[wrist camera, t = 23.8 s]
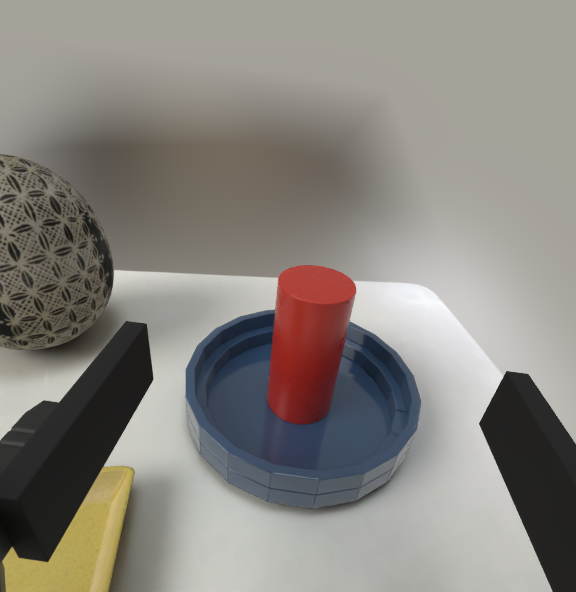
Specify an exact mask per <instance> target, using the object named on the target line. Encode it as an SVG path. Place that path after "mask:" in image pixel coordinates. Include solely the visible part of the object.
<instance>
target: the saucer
mask: <svg viewBox="0 0 576 592" xmlns="http://www.w3.org/2000/svg"><path fill="white" fill-rule="evenodd" d="M134 473H135V472H134V470H133V468H130V467H127V466H112V467H103V468H102V470H101V471H100V473H99V475H98V477H97V478H96V480H95V482H94V484H93V485H92V487H91V489H90V490H89V492H88V494H87V496H86V497H85V499H84V501H83V503H82V504H81V506H80V508H79V510H78V511H77V513H76V515H75V517H74V518H73V520H72V522H71V523H70V525H69V527H68V529H67V530H66V532H65V534H64V536H63V537H62V539H61V541H60V543H59V544H58V546H57V548H56V550H55V551H54V553H53V555H52V556H51V558H50V560H49V562H42V561H36V560H29V559H23V558H18V556H17V554H16V552H15V550H14V549H13V547H12V548H11V549H10V551H9V552H8V554H7V555H6V557H5V558H4V560H3V561H2V562H3V565H4V568H5V584H6V592H109V588H110V583H111V579H112V574H113V570H114V565H115V560H116V556H117V551H118V546H119V541H120V536H121V531H122V527H123V523H124V518H125V514H126V509H127V505H128V499H129V495H130V491H131V486H132V482H133V477H134Z"/></svg>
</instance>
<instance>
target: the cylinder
mask: <svg viewBox="0 0 576 592" xmlns="http://www.w3.org/2000/svg"><path fill="white" fill-rule="evenodd" d="M355 294H356V286H355V284H354V282H353V281H352V280H351V279H350V278H349V277H347V276H346V275H344V274H343V273H341V272H338V271H336V270H333V269H330V268H326V267H321V266H314V265H313V266H312V265H304V266H296V267H292V268H289V269H287V270H285V271H283V272H282V273H281V274H280V276H279V278H278V288H277V298H276V308H275V319H274V329H273V339H272V349H271V360H270V370H269V380H268V391H267V402H268V405H269V407H270V409H271V410H272V411H273V413H274V414H276V415H277V416H278V417H279V418H281V419H283V420H285V421H287V422H290V423H293V424H301V425H302V424H311V423H315V422H317V421H319V420H321V419H322V418H324V417H325V416H326V415H327V413H328V412H329V409H330V406H331V402H332V397H333V393H334V388H335V384H336V379H337V375H338V370H339V366H340V361H341V357H342V352H343V348H344V344H345V339H346V335H347V330H348V326H349V321H350V317H351V312H352V308H353V303H354V299H355Z"/></svg>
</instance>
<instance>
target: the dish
mask: <svg viewBox="0 0 576 592" xmlns="http://www.w3.org/2000/svg"><path fill="white" fill-rule="evenodd" d="M274 319H275V310H266V311H262V312H257V313H253V314H249V315H245V316H241V317H238V318H236V319H234V320H232V321H230V322H228V323H226V324H224V325H222V326H220V327H218V328H216V329H215V330H214V331H213V332H212V333H210V334H209V335H208V336H207V337H206V338H205V339H204V340H203V341H202V342H201V343H200V344H199V345H198V346H197V347H196V349H195V352H194V354H193V356H192V358H191V360H190V362H189V364H188V366H187V368H186V410H187V424H188V427H189V429H190V432H191V434H192V436H193V439H194V441H195V443H196V446H197V448H198V450H199V452H200V454H201V456H202V457H203V458H204V459H205V460H206V461H207V462H208V463H209V464H210V465H211V466H212V467H213V468H214V469H215V470H216V471H217V472H218V473H219V474H220V475H221V476H222V477H223V478H224V479H225V480H226V481H227V482H229V483H230V484H232V485H234V486H236V487H238V488H240V489H242V490H244V491H246V492H248V493H250V494H252V495H254V496H257V497H259V498H261V499H263V500H265V501H268V502H271V503H278V504H284V505H291V506H298V507H305V508H320V507H325V506H331V505H337V504H342V503H348V502H354V501H355V500H358V499H359V498H361V497H363V496H364V495H366V494H368V493H369V492H371V491H373V490H374V489H376V488H378V487H379V486H381V485H383V484H384V483H386V482H387V481H389V479H390V478H391V476H392V475H393V473H394V472H395V471H396V469H397V468H398V466H399V465H400V464H401V462H402V461H403V459H404V458H405V456H406V454H407V452H408V449H409V447H410V444H411V442H412V440H413V437H414V435H415V432H416V430H417V425H418V419H419V412H420V405H421V400H420V396H419V393H418V389H417V386H416V382H415V379H414V376H413V374H412V373H411V371H410V370H409V369H408V367H407V366H406V364H405V363H404V362H403V360H402V359H401V357H400V356H399V355H398V353H397V352H396V351H394V350H393V349H392V348H391V347H390V346H388V345H387V344H386V343H385V342H383V341H382V340H381V339H380V338H379V337H377V336H376V335H375V334H373V333H371V332H369V331H367V330H365V329H363V328H361V327H360V326H358V325H356V324H354V323H352V322H350V321H349V326H348V330H347V335H346V339H345V344H344V348H343V352H342V357H341V361H340V366H339V370H338V375H337V379H336V384H335V388H334V393H333V397H332V402H331V406H330V409H329V412H328V413H327V415H326V416H325V417H324V418H322V419H321V420H319V421H317V422H315V423H311V424H302V425H301V424H293V423H290V422H287V421H285V420H283V419H281V418H279V417H278V416H277V415H276V414H274V413H273V411H272V410H271V409H270V407H269V405H268V402H267V391H268V380H269V370H270V360H271V349H272V339H273V329H274Z"/></svg>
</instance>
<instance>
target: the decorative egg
mask: <svg viewBox="0 0 576 592" xmlns="http://www.w3.org/2000/svg"><path fill="white" fill-rule="evenodd" d="M113 278H114V269H113V260H112V254H111V250H110V246H109V243H108V240H107V238H106V235H105V233H104V230H103V228H102V226H101V224H100V222H99V220H98V218H97V217H96V215H95V213H94V212H93V210H92V209H91V207H90V206H89V204H88V203H87V202H86V200H85V199H84V198H83V197H82V195H81V194H80V193H78V191H77V190H76V189H75V188H74V187H73V186H71V185H70V184H69V183H68V182H67V181H65V180H64V179H63V178H61V177H60V176H58V175H57V174H55V173H54V172H53V171H51V170H49V169H47V168H45V167H43V166H41V165H39V164H37V163H34V162H32V161H29V160H26V159H23V158H19V157H15V156H10V155H2V154H0V347H3V348H8V349H16V350H38V349H45V348H50V347H54V346H57V345H60V344H63V343H66V342H68V341H71V340H72V339H74V338H76V337H78V336H79V335H81V334H82V333H83V332H85V331H86V330H87V329H89V328H90V327H91V326H92V325H93V324H94V323H95V322H96V320H97V319H98V318H99V317H100V316H101V314H102V312H103V311H104V309H105V307H106V305H107V303H108V300H109V298H110V295H111V291H112V288H113Z"/></svg>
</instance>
